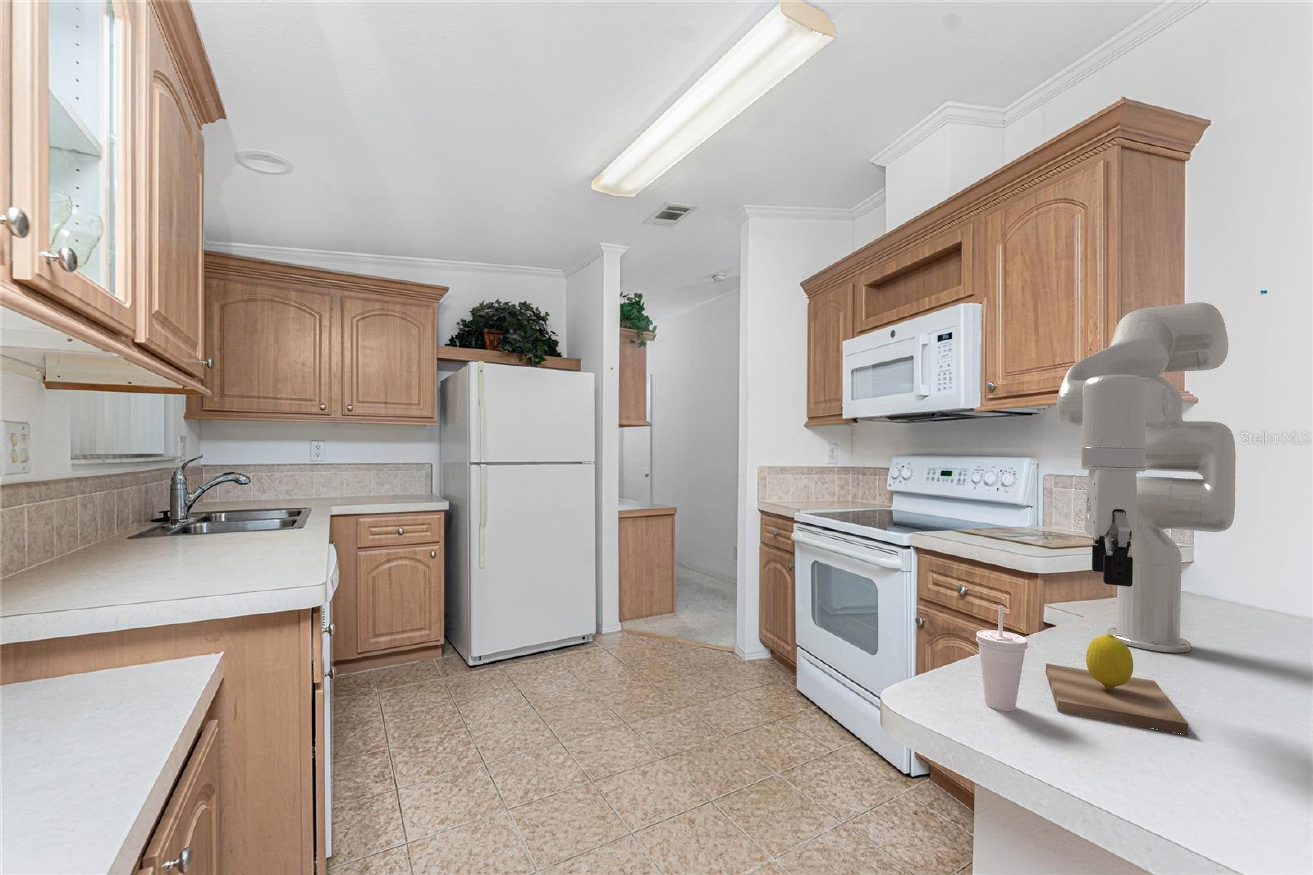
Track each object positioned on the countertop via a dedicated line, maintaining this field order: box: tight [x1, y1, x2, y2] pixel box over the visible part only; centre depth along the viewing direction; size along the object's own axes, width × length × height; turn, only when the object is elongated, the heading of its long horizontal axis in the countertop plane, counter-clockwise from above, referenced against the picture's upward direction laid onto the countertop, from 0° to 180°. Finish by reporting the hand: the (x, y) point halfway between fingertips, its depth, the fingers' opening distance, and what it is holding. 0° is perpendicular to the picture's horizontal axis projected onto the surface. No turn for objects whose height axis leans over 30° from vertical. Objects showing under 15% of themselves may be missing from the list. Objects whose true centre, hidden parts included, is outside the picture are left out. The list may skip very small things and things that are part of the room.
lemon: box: [1085, 633, 1134, 689], centre depth 90 cm, size 6×6×8 cm
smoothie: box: [975, 605, 1029, 712], centre depth 87 cm, size 6×6×14 cm
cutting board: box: [1045, 663, 1189, 736], centre depth 90 cm, size 17×14×2 cm
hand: (1110, 578), depth 90 cm, fingers open, 9 cm apart
